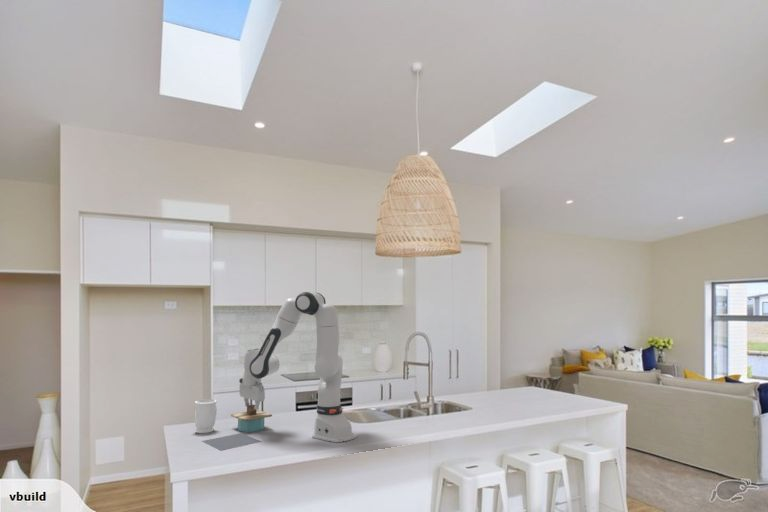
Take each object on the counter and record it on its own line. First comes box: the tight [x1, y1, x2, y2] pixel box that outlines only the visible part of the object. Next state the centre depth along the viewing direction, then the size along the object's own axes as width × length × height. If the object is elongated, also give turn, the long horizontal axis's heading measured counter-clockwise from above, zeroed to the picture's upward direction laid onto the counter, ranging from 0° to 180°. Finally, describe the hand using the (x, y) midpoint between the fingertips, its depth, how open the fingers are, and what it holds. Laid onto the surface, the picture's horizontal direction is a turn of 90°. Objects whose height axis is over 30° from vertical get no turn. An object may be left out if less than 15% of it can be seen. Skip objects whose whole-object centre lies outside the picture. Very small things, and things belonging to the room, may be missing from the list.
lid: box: [230, 404, 273, 421], centre depth 248 cm, size 15×15×5 cm
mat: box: [201, 432, 263, 452], centre depth 224 cm, size 20×20×1 cm
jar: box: [194, 398, 218, 434], centre depth 243 cm, size 11×10×15 cm
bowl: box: [237, 418, 265, 433], centre depth 247 cm, size 13×13×6 cm
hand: (251, 407), depth 248 cm, fingers open, 8 cm apart
